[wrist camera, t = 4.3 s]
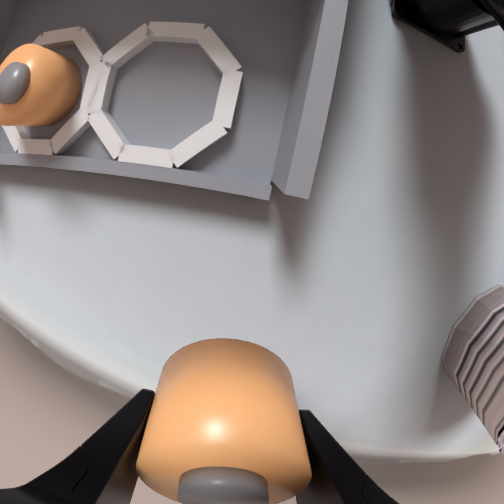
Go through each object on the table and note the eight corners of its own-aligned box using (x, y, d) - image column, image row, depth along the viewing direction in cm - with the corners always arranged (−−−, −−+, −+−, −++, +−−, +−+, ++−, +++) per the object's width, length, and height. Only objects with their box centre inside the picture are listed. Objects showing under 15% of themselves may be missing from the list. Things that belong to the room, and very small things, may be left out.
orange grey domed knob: (89, 54, 13) (51, 35, 9) (73, 126, 15) (29, 125, 10) (35, 60, 13) (-5, 48, 8) (22, 126, 14) (-23, 127, 10)
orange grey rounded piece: (309, 348, 9) (345, 463, 5) (273, 432, 11) (285, 524, 7) (162, 326, 9) (121, 444, 5) (160, 417, 10) (140, 511, 6)
